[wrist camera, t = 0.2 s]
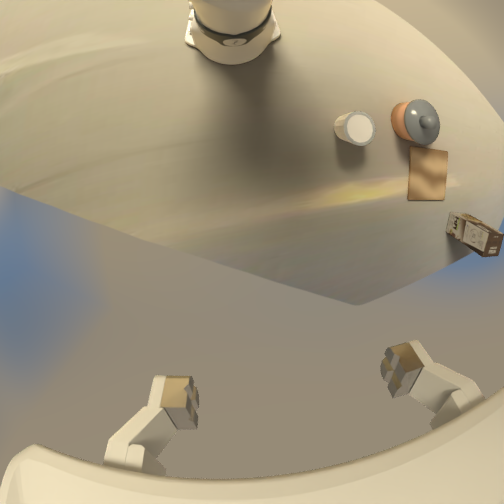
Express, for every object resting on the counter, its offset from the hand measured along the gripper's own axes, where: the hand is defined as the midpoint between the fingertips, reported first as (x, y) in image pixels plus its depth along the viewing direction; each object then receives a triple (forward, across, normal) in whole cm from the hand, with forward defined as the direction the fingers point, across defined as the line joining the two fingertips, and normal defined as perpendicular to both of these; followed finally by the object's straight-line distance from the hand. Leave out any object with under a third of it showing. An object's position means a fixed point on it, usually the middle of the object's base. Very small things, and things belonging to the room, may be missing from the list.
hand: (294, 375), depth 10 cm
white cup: (+48, -22, -9) cm, 53 cm away
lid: (+42, -38, -12) cm, 57 cm away
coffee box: (+48, -60, +14) cm, 78 cm away
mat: (+48, -45, 0) cm, 66 cm away
